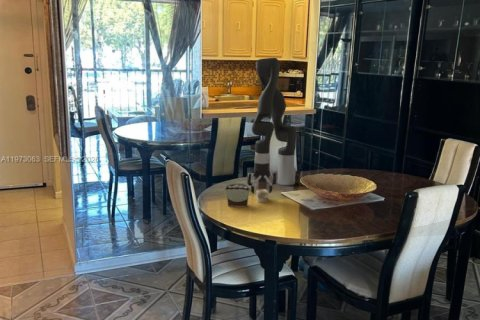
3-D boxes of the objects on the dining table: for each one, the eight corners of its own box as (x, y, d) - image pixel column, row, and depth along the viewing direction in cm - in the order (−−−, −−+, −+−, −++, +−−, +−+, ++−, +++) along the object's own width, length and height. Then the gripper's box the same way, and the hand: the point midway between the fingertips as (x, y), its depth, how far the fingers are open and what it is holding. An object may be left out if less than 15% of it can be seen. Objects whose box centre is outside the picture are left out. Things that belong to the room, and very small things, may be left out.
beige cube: (265, 198, 227) (265, 189, 226) (268, 201, 222) (268, 192, 221) (256, 199, 226) (256, 189, 225) (258, 202, 221) (258, 192, 220)
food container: (251, 202, 220) (251, 183, 218) (250, 206, 214) (250, 187, 212) (226, 201, 221) (226, 182, 219) (224, 205, 215) (224, 186, 213)
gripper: (274, 159, 224) (273, 190, 228) (246, 160, 222) (246, 191, 225) (278, 162, 217) (277, 194, 220) (249, 163, 214) (248, 195, 218)
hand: (261, 192), depth 223 cm, fingers open, 8 cm apart
